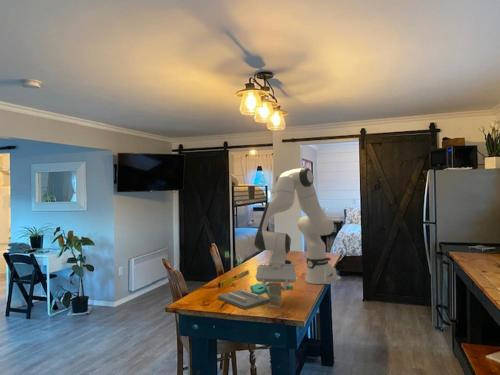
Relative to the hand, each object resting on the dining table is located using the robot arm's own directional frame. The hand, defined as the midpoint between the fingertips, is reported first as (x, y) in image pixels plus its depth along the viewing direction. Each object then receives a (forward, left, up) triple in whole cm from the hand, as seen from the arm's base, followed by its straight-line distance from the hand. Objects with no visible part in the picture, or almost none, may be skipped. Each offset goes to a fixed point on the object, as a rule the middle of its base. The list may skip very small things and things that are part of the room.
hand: (274, 289), depth 176 cm
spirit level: (-13, -53, -8) cm, 55 cm away
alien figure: (-14, -21, -9) cm, 27 cm away
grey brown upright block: (0, +1, -8) cm, 8 cm away
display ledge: (+6, -17, -8) cm, 20 cm away
